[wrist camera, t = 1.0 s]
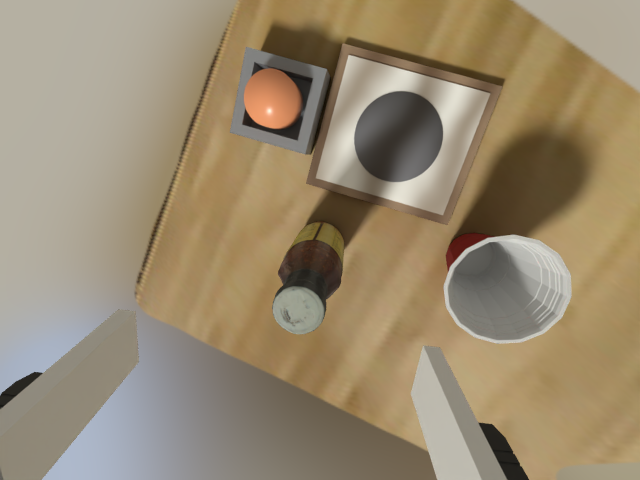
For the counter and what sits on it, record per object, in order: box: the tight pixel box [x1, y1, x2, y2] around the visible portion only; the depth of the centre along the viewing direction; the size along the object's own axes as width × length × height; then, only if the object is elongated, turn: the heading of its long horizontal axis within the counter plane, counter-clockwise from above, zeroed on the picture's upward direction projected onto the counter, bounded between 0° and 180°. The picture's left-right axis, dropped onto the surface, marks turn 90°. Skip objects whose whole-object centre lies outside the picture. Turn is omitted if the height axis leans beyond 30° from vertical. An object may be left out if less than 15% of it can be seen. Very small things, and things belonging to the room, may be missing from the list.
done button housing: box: [230, 47, 331, 154], centre depth 38 cm, size 9×9×4 cm
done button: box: [244, 68, 303, 130], centre depth 36 cm, size 6×6×4 cm
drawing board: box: [306, 43, 503, 225], centre depth 39 cm, size 18×16×1 cm
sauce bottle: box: [272, 221, 344, 334], centre depth 34 cm, size 7×6×20 cm
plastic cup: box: [444, 233, 571, 344], centre depth 36 cm, size 11×11×12 cm
